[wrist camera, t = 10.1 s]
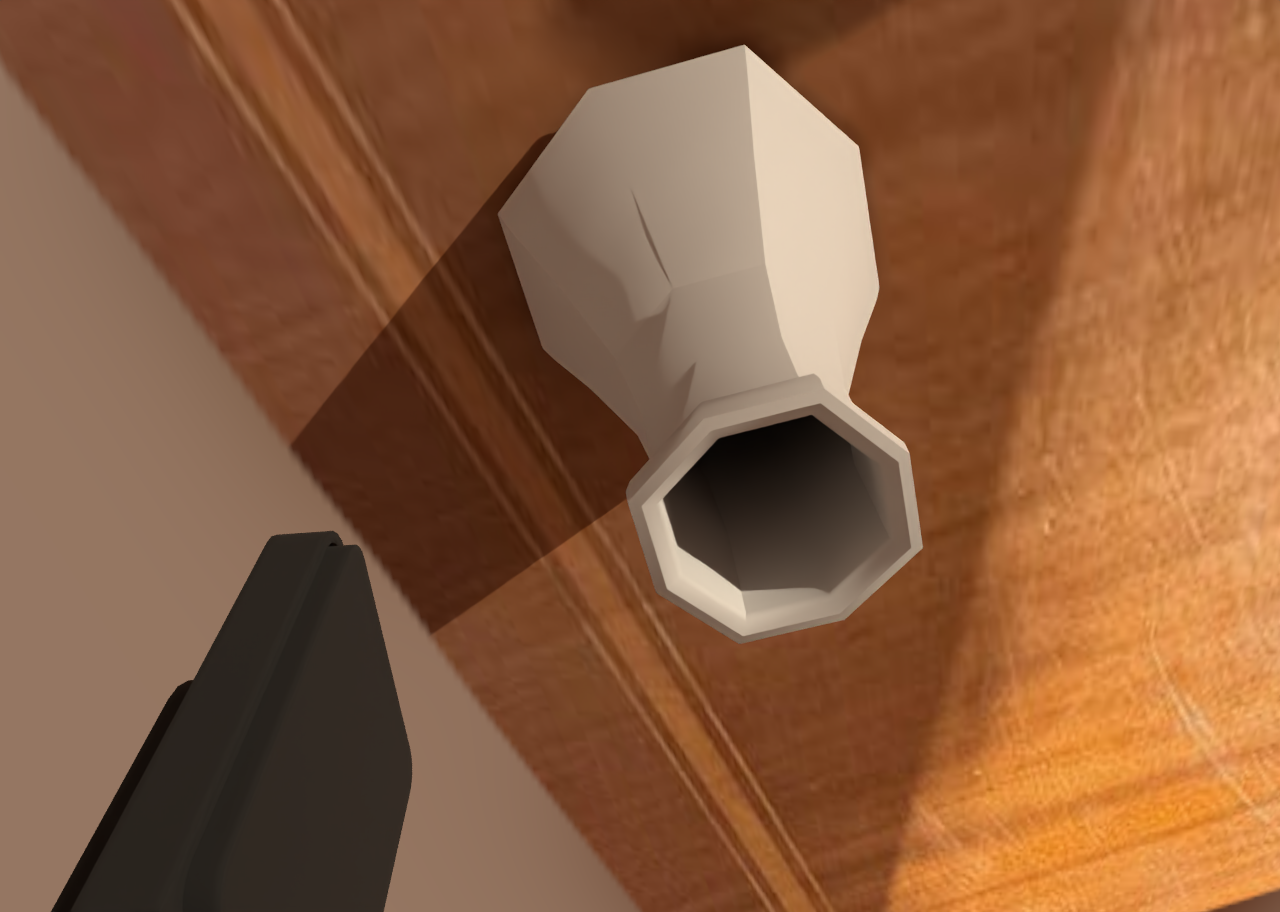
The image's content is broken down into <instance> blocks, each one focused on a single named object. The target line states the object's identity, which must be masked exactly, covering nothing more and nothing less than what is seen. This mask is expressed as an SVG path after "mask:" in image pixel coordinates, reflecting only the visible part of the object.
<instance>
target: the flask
mask: <svg viewBox="0 0 1280 912" xmlns="http://www.w3.org/2000/svg"><path fill="white" fill-rule="evenodd" d="M498 217H499V220H500V223H501V226H502V229H503V232H504V235H505V238H506V241H507V244H508V247H509V250H510V253H511V256H512V259H513V262H514V265H515V268H516V271H517V274H518V276H519V279H520V282H521V285H522V288H523V291H524V294H525V297H526V300H527V303H528V306H529V309H530V312H531V315H532V318H533V321H534V324H535V327H536V330H537V333H538V336H539V339H540V342H541V345H542V348H543V349H544V350H545V351H546V352H547V353H548V354H549V355H550V356H551V357H552V358H553V359H554V360H555V361H557V362H558V363H559V364H560V365H562V366H563V367H564V368H565V369H566V370H568V371H569V372H570V373H571V374H573V375H574V376H575V377H576V378H578V379H579V380H580V381H581V382H583V383H584V384H585V385H586V386H588V387H589V388H590V389H591V390H592V391H593V392H594V393H595V394H596V395H597V396H598V397H599V398H600V399H601V400H602V401H603V402H604V403H605V404H606V405H607V406H608V407H609V408H610V409H611V410H612V411H613V412H614V413H615V414H617V415H618V416H619V417H620V418H621V419H622V420H623V421H624V422H625V423H626V424H627V425H628V426H629V427H630V428H631V429H632V430H633V431H634V432H635V433H636V434H637V435H638V437H639V439H640V441H641V443H642V445H643V447H644V449H645V451H646V453H647V455H648V457H649V460H648V461H647V463H646V464H645V465H644V466H643V467H642V468H641V469H640V470H639V471H638V473H637V474H636V475H635V476H634V477H633V478H632V479H631V480H630V482H629V485H628V487H627V490H626V495H627V501H628V505H629V508H630V511H631V514H632V517H633V521H634V524H635V527H636V530H637V533H638V536H639V540H640V543H641V546H642V549H643V552H644V555H645V559H646V562H647V565H648V568H649V571H650V574H651V578H652V581H653V584H654V587H655V590H656V593H657V594H659V595H661V596H662V597H664V598H666V599H667V600H669V601H670V602H672V603H674V604H675V605H677V606H679V607H680V608H682V609H683V610H685V611H687V612H688V613H690V614H691V615H693V616H695V617H696V618H698V619H700V620H701V621H703V622H704V623H706V624H708V625H709V626H711V627H713V628H714V629H716V630H717V631H719V632H721V633H722V634H724V635H726V636H727V637H729V638H730V639H732V640H734V641H735V642H737V643H739V644H741V643H746V642H750V641H754V640H759V639H763V638H767V637H771V636H776V635H780V634H784V633H789V632H793V631H797V630H802V629H806V628H810V627H814V626H819V625H823V624H827V623H832V622H836V621H840V620H845V619H846V618H847V617H848V616H849V615H850V614H851V613H852V612H853V611H854V610H856V609H857V608H858V607H859V606H860V605H861V604H862V603H863V602H864V601H865V600H866V599H868V598H869V597H870V596H871V595H872V594H873V593H874V592H875V591H876V590H877V589H878V588H880V587H881V586H882V585H883V584H884V583H885V582H886V581H887V580H888V579H889V578H891V577H892V576H893V575H894V574H895V573H896V572H897V571H898V570H899V569H900V568H901V567H903V566H904V565H905V564H906V563H907V562H908V561H909V560H910V559H911V558H912V557H913V556H915V555H916V554H917V553H918V552H919V551H920V550H921V549H922V548H923V545H922V538H921V531H920V524H919V517H918V510H917V503H916V496H915V489H914V482H913V475H912V468H911V461H910V454H909V451H908V449H907V447H906V445H905V443H904V442H903V441H901V440H900V439H899V438H898V437H896V436H895V435H894V434H892V433H891V432H890V431H888V430H887V429H886V428H884V427H883V426H882V425H881V424H879V423H878V422H877V421H875V420H874V419H873V418H871V417H870V416H869V415H867V414H866V413H865V412H864V411H862V410H861V409H860V408H858V407H857V406H856V405H854V404H853V403H852V402H851V400H850V397H849V395H848V394H849V390H850V386H851V382H852V378H853V373H854V369H855V365H856V361H857V357H858V353H859V349H860V345H861V340H862V338H863V335H864V332H865V330H866V327H867V324H868V322H869V319H870V316H871V314H872V311H873V308H874V305H875V303H876V299H877V295H878V291H879V282H878V275H877V268H876V261H875V254H874V247H873V240H872V234H871V227H870V220H869V213H868V206H867V199H866V192H865V185H864V179H863V172H862V165H861V158H860V151H859V146H858V145H856V144H855V143H854V142H853V141H852V140H851V139H850V138H849V137H847V136H846V135H845V134H844V133H843V132H842V131H841V130H840V129H839V128H837V127H836V126H835V125H834V124H833V123H832V122H831V121H830V120H828V119H827V118H826V117H825V116H824V115H823V114H822V113H821V112H819V111H818V110H817V109H816V108H815V107H814V106H813V105H812V104H811V103H809V102H808V101H807V100H806V99H805V98H804V97H803V96H802V95H800V94H799V93H798V92H797V91H796V90H795V89H794V88H793V87H791V86H790V85H789V84H788V83H787V82H786V81H785V80H784V79H783V78H781V77H780V76H779V75H778V74H777V73H776V72H775V71H774V70H772V69H771V68H770V67H769V66H768V65H767V64H766V63H765V62H763V61H762V60H761V59H760V58H759V57H758V56H757V55H756V54H755V53H753V52H752V51H751V50H750V49H749V48H748V47H747V46H746V45H741V46H738V47H734V48H731V49H727V50H724V51H720V52H717V53H713V54H710V55H706V56H703V57H699V58H695V59H692V60H688V61H685V62H681V63H678V64H674V65H671V66H667V67H664V68H660V69H657V70H653V71H650V72H646V73H643V74H639V75H636V76H632V77H628V78H625V79H621V80H618V81H614V82H611V83H607V84H604V85H600V86H597V87H593V88H590V89H588V90H587V92H586V93H585V95H584V96H583V97H582V99H581V100H580V101H579V103H578V104H577V106H576V107H575V108H574V110H573V111H572V112H571V114H570V115H569V117H568V118H567V119H566V121H565V122H564V123H563V125H562V126H561V128H560V129H559V130H558V132H557V133H556V134H555V136H554V137H553V138H552V140H551V141H550V143H549V144H548V145H547V147H546V148H545V149H544V151H543V152H542V154H541V155H540V156H539V158H538V159H537V160H536V162H535V163H534V165H533V166H532V167H531V169H530V170H529V171H528V173H527V174H526V176H525V177H524V178H523V180H522V181H521V182H520V184H519V185H518V187H517V188H516V189H515V191H514V192H513V193H512V195H511V196H510V198H509V199H508V200H507V202H506V203H505V204H504V206H503V207H502V208H501V210H500V211H499V213H498Z"/></svg>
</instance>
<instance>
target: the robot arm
mask: <svg viewBox="0 0 1280 912" xmlns="http://www.w3.org/2000/svg"><path fill="white" fill-rule="evenodd" d="M411 782H412V758H411V752H410V746H409V742H408V739H407V734H406V730H405V725H404V722H403V717H402V714H401V709H400V705H399V701H398V696H397V692H396V688H395V685H394V680H393V676H392V672H391V667H390V663H389V659H388V655H387V651H386V647H385V642H384V638H383V634H382V630H381V626H380V622H379V617H378V613H377V609H376V605H375V601H374V597H373V593H372V589H371V584H370V580H369V576H368V572H367V568H366V564H365V559H364V556H363V553H362V551H361V549H360V547H359V546H357V545H344V546H343V543H342V540H341V538H340V537H339V535H338V534H337V533H335V532H334V531H327V532H311V533H297V534H282V535H275V536H272V537H271V538H270V539H269V541H268V542H267V543H266V545H265V547H264V549H263V551H262V553H261V554H260V556H259V558H258V560H257V562H256V564H255V566H254V568H253V570H252V571H251V573H250V575H249V577H248V579H247V581H246V583H245V584H244V586H243V588H242V590H241V592H240V594H239V596H238V598H237V599H236V601H235V603H234V605H233V607H232V609H231V611H230V613H229V615H228V616H227V618H226V620H225V622H224V624H223V626H222V628H221V630H220V631H219V633H218V635H217V637H216V639H215V641H214V643H213V644H212V646H211V649H210V650H209V652H208V654H207V656H206V658H205V660H204V661H203V663H202V665H201V667H200V669H199V671H198V673H197V675H196V676H195V678H194V680H190V681H187V682H185V683H183V684H181V685H180V686H178V687H177V688H176V690H175V691H174V692H173V694H172V695H171V696H170V698H169V699H168V701H167V702H166V704H165V706H164V708H163V710H162V712H161V713H160V715H159V717H158V719H157V721H156V722H155V724H154V726H153V728H152V730H151V731H150V734H149V735H148V737H147V739H146V740H145V742H144V744H143V746H142V748H141V750H140V751H139V753H138V755H137V757H136V759H135V760H134V762H133V764H132V766H131V768H130V769H129V772H128V773H127V775H126V777H125V779H124V780H123V782H122V784H121V786H120V788H119V790H118V791H117V793H116V795H115V797H114V799H113V801H112V802H111V804H110V806H109V808H108V809H107V811H106V813H105V815H104V817H103V819H102V820H101V822H100V824H99V826H98V827H97V830H96V831H95V833H94V835H93V837H92V838H91V840H90V842H89V844H88V846H87V848H86V849H85V851H84V853H83V855H82V856H81V858H80V860H79V862H78V864H77V866H76V867H75V869H74V871H73V873H72V875H71V876H70V878H69V880H68V882H67V884H66V885H65V887H64V889H63V891H62V893H61V895H60V896H59V898H58V900H57V902H56V904H55V905H54V907H53V909H52V911H51V912H383V911H384V907H385V903H386V898H387V893H388V889H389V884H390V880H391V875H392V871H393V867H394V862H395V857H396V853H397V848H398V844H399V839H400V835H401V830H402V826H403V821H404V817H405V812H406V808H407V803H408V799H409V794H410V789H411Z"/></svg>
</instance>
